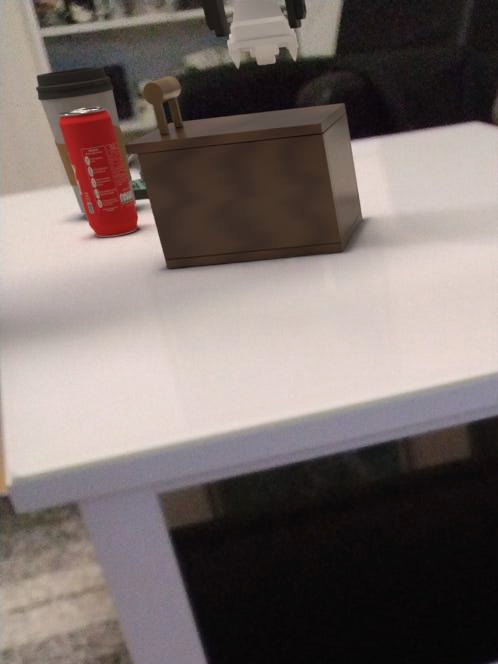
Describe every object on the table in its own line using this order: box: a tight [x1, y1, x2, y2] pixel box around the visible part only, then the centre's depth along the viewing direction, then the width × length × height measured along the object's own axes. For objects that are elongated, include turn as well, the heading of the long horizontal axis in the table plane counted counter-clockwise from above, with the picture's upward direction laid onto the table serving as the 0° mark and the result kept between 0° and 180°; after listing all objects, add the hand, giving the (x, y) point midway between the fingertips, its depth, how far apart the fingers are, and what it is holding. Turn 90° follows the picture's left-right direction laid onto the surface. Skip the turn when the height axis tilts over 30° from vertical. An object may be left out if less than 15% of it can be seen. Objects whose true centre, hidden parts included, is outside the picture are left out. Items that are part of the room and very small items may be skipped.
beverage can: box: [59, 107, 139, 238], centre depth 109 cm, size 5×5×12 cm
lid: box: [124, 75, 347, 156], centre depth 93 cm, size 18×14×5 cm
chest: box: [137, 112, 364, 270], centre depth 97 cm, size 17×14×10 cm
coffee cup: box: [35, 66, 137, 219], centre depth 118 cm, size 8×8×15 cm
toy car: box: [226, 0, 299, 70], centre depth 89 cm, size 6×12×7 cm, turn 10°
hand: (259, 31), depth 89 cm, fingers closed on toy car, 6 cm apart
